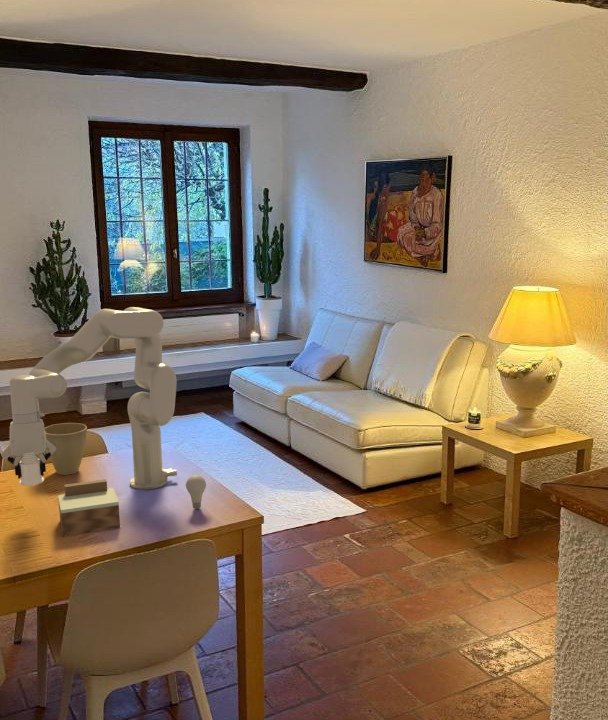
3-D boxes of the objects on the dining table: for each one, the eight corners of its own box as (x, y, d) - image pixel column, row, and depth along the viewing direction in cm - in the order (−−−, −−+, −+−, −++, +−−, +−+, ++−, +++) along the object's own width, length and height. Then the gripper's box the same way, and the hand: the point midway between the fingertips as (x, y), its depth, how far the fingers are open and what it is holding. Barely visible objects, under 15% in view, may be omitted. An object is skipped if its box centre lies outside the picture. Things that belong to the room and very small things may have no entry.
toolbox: (114, 512, 228) (113, 491, 226) (120, 527, 217) (118, 505, 215) (60, 520, 222) (58, 498, 221) (62, 536, 211) (61, 513, 210)
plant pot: (82, 478, 256) (79, 434, 253) (39, 479, 257) (36, 434, 254) (94, 464, 271) (92, 422, 268) (54, 464, 271) (51, 422, 268)
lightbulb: (210, 506, 232) (209, 473, 229) (201, 514, 226) (200, 480, 224) (192, 504, 234) (191, 471, 231) (183, 511, 228) (181, 477, 226)
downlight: (25, 476, 226) (22, 445, 223) (48, 476, 226) (45, 445, 223) (14, 487, 218) (11, 455, 216) (38, 487, 218) (35, 455, 215)
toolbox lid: (113, 490, 226) (112, 478, 225) (118, 505, 215) (117, 492, 214) (58, 498, 221) (57, 485, 220) (61, 513, 210) (60, 500, 209)
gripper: (56, 411, 224) (60, 468, 228) (-6, 417, 218) (0, 475, 222) (57, 417, 217) (61, 476, 221) (-6, 423, 211) (-1, 483, 215)
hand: (30, 475), depth 221 cm, fingers closed on downlight, 5 cm apart
